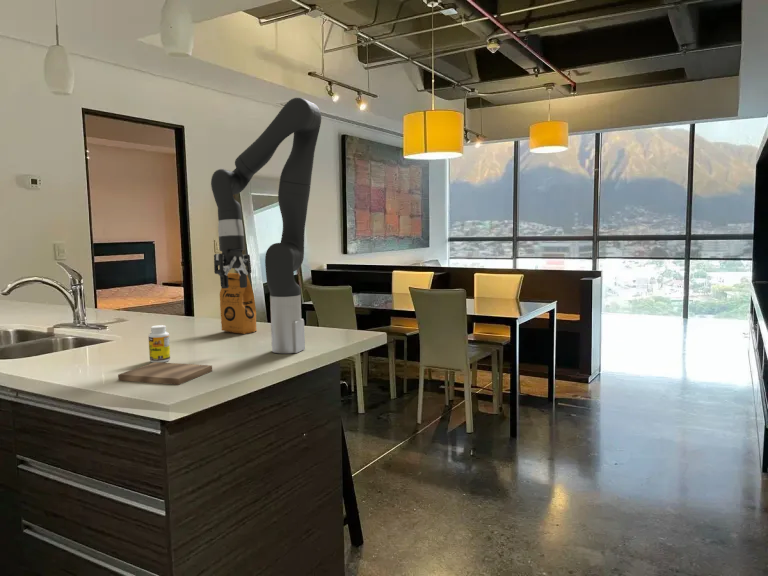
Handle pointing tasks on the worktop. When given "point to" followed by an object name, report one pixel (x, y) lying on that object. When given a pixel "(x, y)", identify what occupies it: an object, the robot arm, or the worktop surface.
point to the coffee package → (237, 306)
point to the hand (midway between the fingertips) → (234, 287)
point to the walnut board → (165, 373)
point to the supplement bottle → (159, 344)
